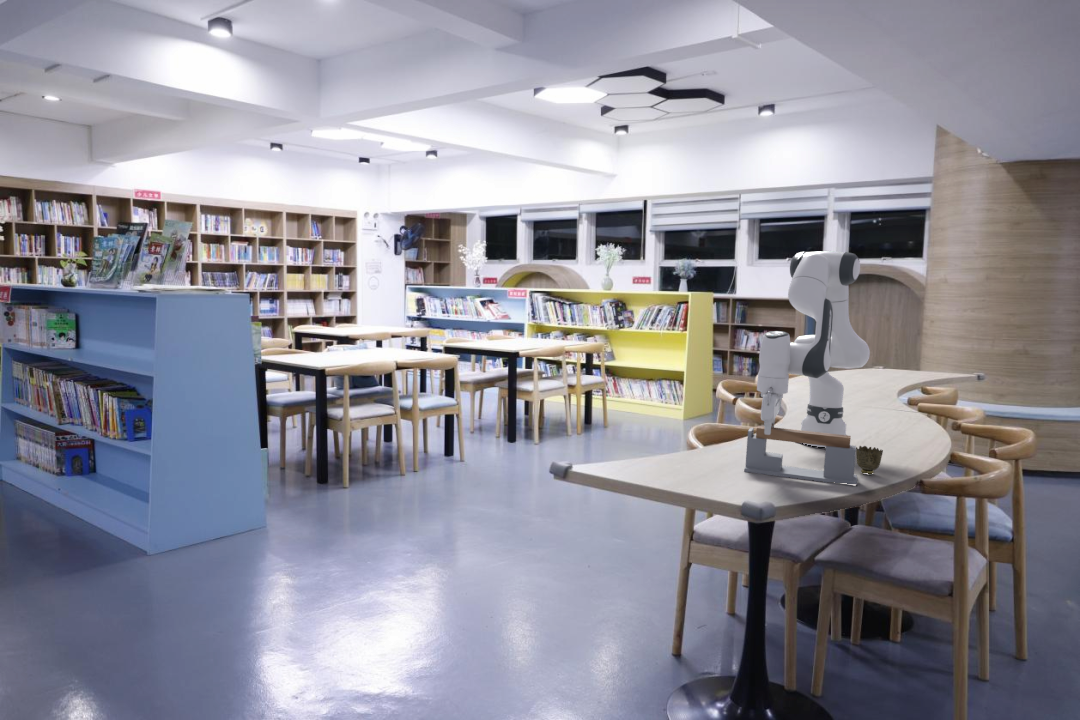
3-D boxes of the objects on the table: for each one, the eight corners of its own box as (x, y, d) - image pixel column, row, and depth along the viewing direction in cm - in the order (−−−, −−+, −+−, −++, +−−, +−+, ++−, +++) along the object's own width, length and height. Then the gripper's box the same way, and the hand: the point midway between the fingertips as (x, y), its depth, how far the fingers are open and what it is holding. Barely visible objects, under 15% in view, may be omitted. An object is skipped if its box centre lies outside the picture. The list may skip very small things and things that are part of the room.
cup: (872, 478, 218) (874, 452, 217) (848, 473, 224) (851, 447, 223) (885, 475, 222) (887, 449, 222) (862, 470, 228) (864, 444, 227)
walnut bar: (754, 434, 225) (768, 401, 223) (837, 470, 217) (853, 437, 214) (752, 436, 222) (767, 403, 219) (837, 473, 213) (853, 439, 211)
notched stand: (748, 464, 230) (751, 426, 228) (856, 478, 218) (860, 438, 217) (744, 471, 220) (747, 432, 219) (856, 486, 209) (860, 444, 207)
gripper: (780, 391, 209) (776, 439, 211) (786, 383, 228) (782, 427, 230) (757, 389, 212) (754, 436, 213) (765, 381, 231) (761, 424, 232)
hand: (769, 431), depth 222 cm, fingers open, 8 cm apart
